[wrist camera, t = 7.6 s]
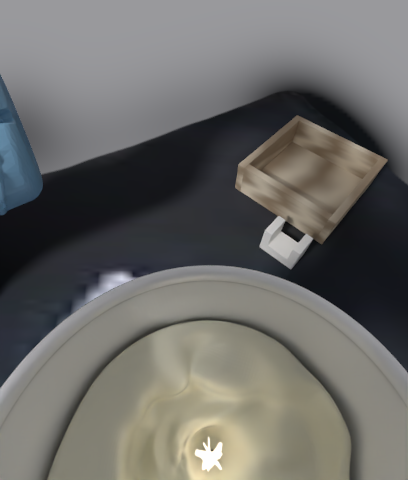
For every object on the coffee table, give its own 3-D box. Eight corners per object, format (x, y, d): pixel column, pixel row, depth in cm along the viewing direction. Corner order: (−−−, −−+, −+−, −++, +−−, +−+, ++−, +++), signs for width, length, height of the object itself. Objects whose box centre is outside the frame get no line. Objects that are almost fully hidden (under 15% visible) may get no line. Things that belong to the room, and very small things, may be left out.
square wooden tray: (235, 187, 44) (238, 164, 40) (289, 139, 50) (297, 115, 46) (321, 244, 39) (335, 224, 35) (370, 183, 45) (387, 159, 41)
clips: (209, 299, 35) (210, 286, 31) (272, 233, 40) (278, 215, 36) (263, 346, 32) (271, 338, 28) (323, 268, 37) (336, 253, 33)
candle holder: (288, 356, 18) (408, 273, 8) (310, 594, 13) (792, 1369, 2) (130, 346, 18) (37, 253, 8) (87, 578, 13) (-366, 1228, 3)
